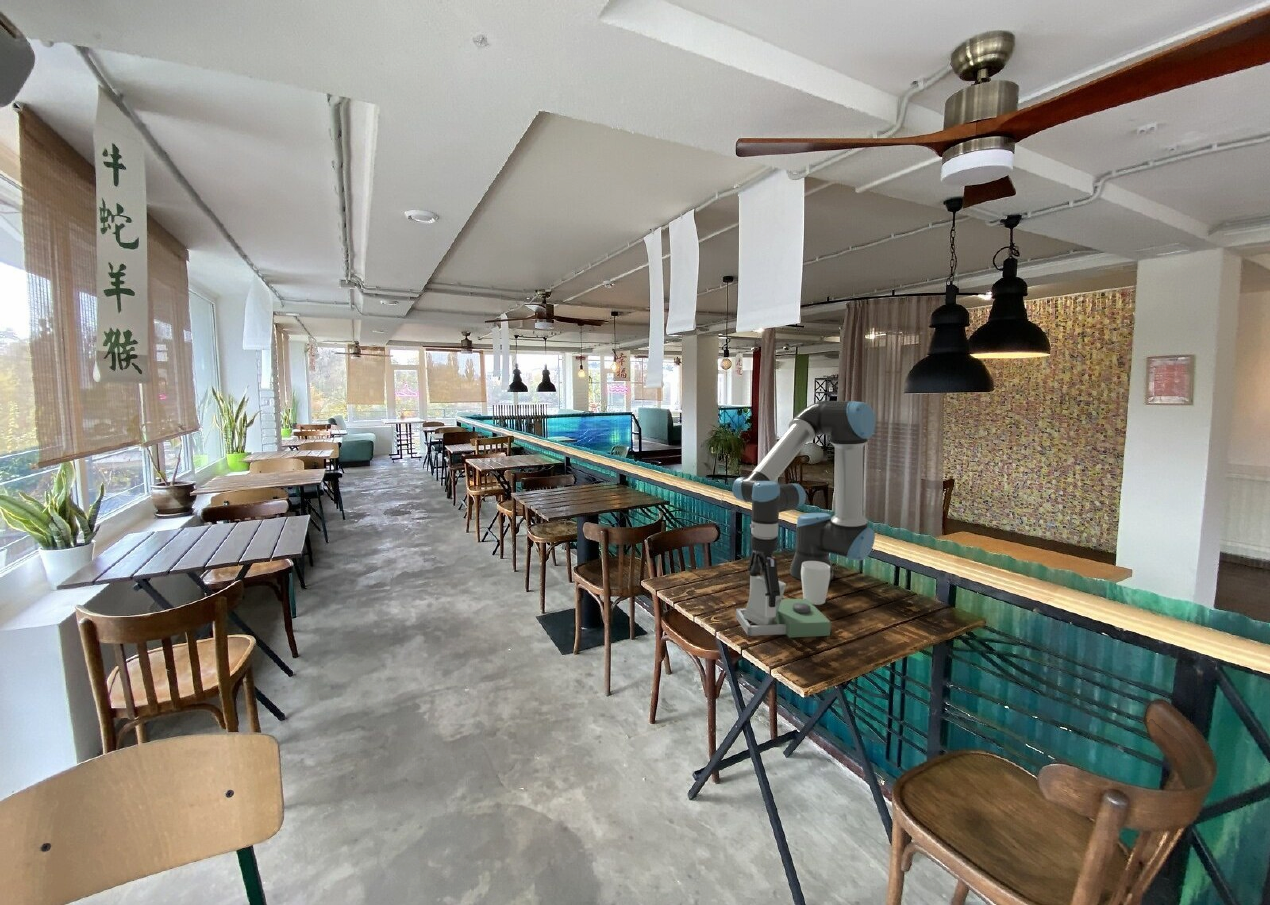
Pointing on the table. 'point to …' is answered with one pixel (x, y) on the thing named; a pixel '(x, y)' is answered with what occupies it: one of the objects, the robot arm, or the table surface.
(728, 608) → the table surface
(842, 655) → the table surface
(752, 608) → the supplement box
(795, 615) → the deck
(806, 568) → the cup
